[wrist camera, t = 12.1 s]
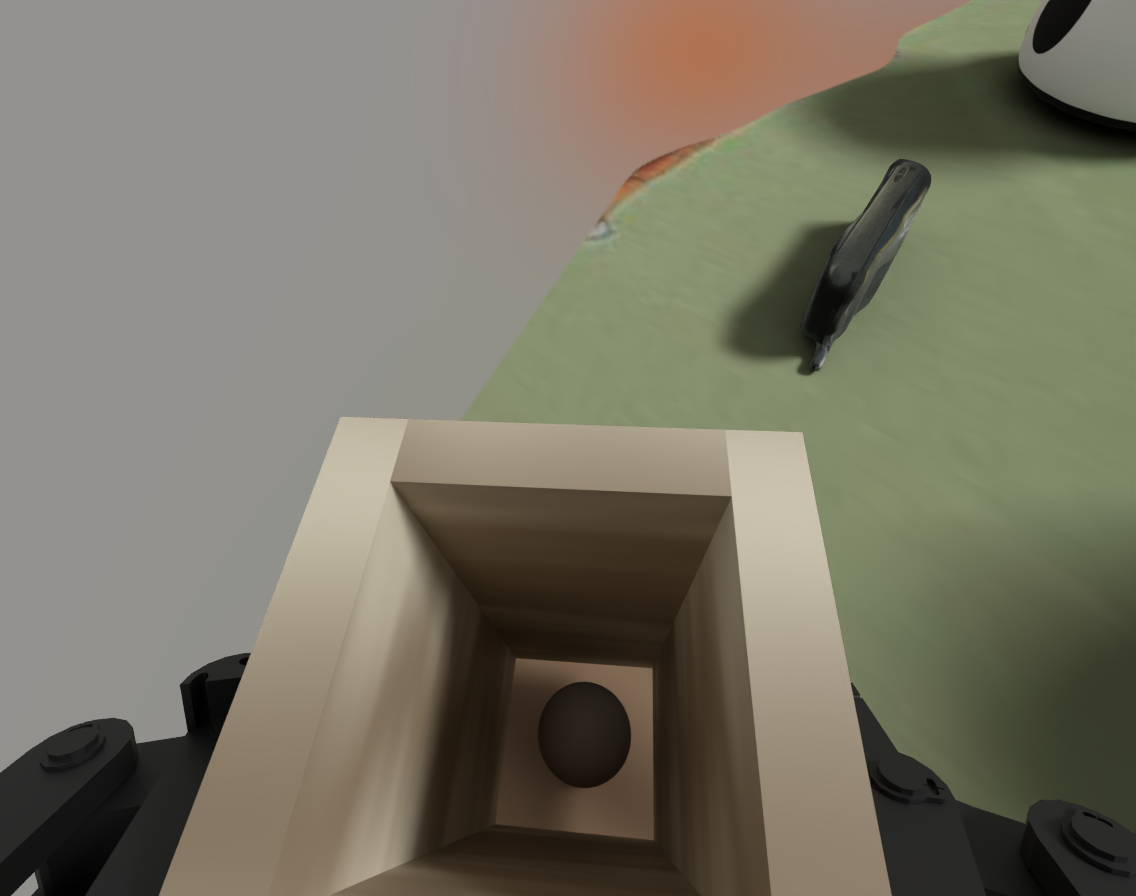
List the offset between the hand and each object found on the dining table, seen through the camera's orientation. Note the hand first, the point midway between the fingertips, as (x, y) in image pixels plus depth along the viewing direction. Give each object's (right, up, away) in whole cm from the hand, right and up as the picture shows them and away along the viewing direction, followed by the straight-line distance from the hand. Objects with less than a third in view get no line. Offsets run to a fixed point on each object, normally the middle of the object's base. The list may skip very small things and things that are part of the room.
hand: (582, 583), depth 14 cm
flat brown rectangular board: (0, -8, +6) cm, 9 cm away
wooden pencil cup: (0, -5, +1) cm, 5 cm away
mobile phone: (+17, +13, +18) cm, 28 cm away
